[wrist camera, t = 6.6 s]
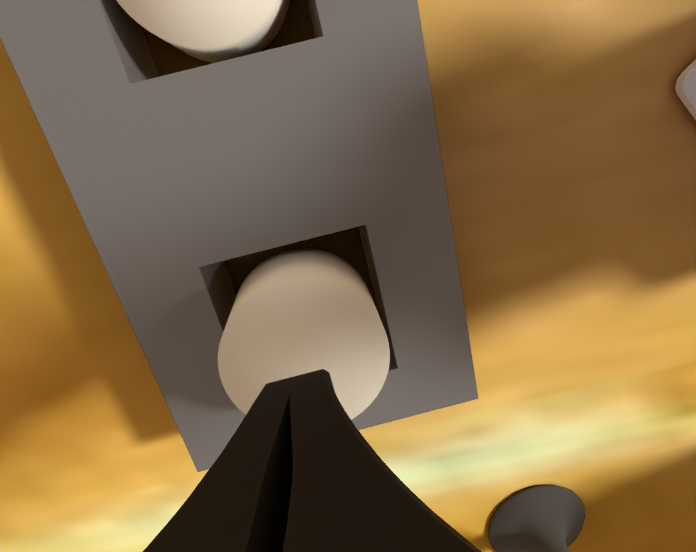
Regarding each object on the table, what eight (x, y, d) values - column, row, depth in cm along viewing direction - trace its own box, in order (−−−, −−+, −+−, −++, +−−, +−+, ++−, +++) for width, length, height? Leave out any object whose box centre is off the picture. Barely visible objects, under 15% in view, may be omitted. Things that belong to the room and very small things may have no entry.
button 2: (355, 232, 13) (370, 262, 11) (384, 355, 15) (404, 409, 12) (215, 268, 13) (192, 307, 10) (258, 388, 15) (248, 450, 12)
